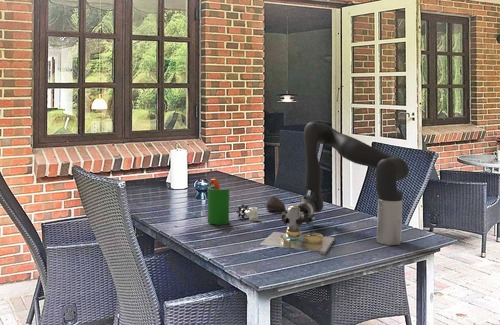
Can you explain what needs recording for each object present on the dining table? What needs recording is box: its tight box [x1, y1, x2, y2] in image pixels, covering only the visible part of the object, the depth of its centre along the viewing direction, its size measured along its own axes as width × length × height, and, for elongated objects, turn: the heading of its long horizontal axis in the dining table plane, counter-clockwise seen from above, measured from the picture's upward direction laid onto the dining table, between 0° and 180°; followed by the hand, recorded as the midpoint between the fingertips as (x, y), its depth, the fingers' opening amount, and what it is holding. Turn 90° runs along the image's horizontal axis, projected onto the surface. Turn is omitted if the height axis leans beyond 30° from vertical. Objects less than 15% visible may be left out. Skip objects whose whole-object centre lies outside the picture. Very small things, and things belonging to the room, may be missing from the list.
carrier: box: [259, 231, 335, 255], centre depth 205 cm, size 25×19×4 cm
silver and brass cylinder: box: [285, 205, 302, 238], centre depth 206 cm, size 6×6×12 cm
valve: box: [236, 203, 259, 222], centre depth 242 cm, size 7×7×12 cm
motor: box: [207, 178, 230, 226], centre depth 237 cm, size 10×9×20 cm
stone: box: [265, 195, 286, 212], centre depth 261 cm, size 10×8×10 cm
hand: (292, 222), depth 204 cm, fingers closed on silver and brass cylinder, 4 cm apart
